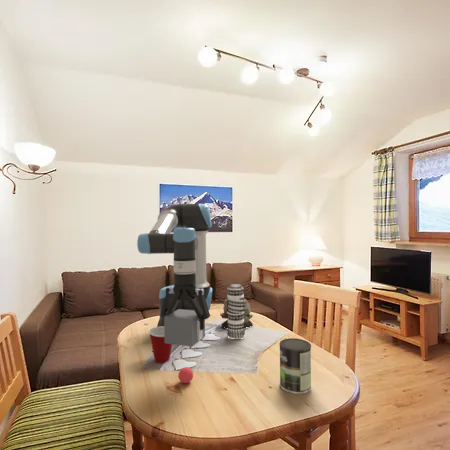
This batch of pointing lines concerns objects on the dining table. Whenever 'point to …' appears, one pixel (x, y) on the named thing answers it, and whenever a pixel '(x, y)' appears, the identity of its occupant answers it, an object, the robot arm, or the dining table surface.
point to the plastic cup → (159, 344)
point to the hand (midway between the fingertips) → (185, 337)
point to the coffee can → (295, 365)
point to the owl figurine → (246, 314)
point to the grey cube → (181, 328)
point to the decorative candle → (235, 311)
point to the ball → (185, 375)
